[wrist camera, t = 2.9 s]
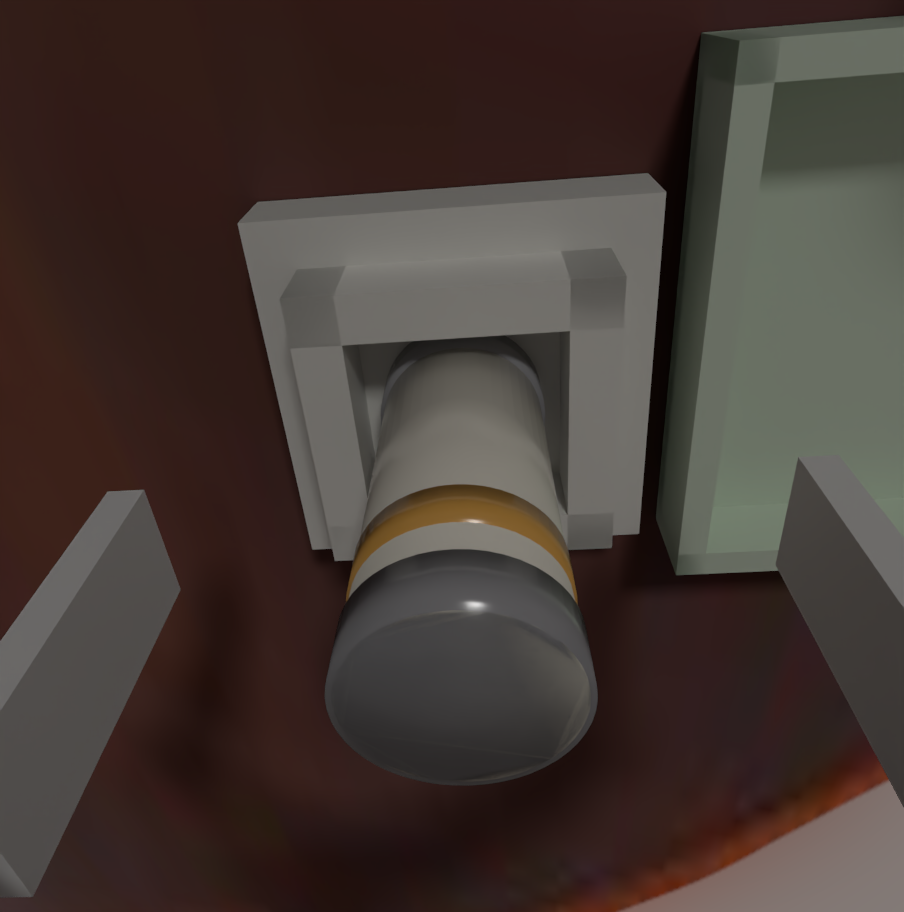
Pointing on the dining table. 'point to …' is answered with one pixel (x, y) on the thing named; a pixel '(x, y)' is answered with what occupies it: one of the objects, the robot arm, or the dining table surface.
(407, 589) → the fuse
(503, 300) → the holder
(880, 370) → the tray
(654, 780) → the dining table surface
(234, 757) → the dining table surface
